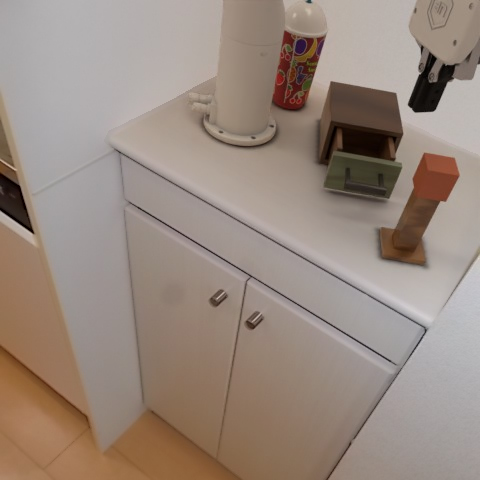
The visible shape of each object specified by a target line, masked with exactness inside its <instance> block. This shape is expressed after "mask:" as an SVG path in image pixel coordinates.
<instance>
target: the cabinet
mask: <svg viewBox="0 0 480 480" xmlns="http://www.w3.org/2000/svg"><path fill="white" fill-rule="evenodd" d="M325 97H326V98H325V101H324V105H323V108H322V113H321V117H320V120H319V144H318V145H319V146H318V148H319V149H318V152H319V154H318V163H319V164H324V165H329V143H330V140H331V136H332V133H333V129H334V126H338V127H344V128H349V129H355V130H361V131H366V132H372V133H377V134H383V135H388V136H393V142H394V149H395V155H396V154H397V151H398V149H399V146H400V144H401V141H402V139H403V137H404V127H403V122H402V116H401V111H400V105H399V100H398V94H397V92H393V91H388V90H382V89H377V88H372V87H366V86H360V85H355V84H350V83H345V82H344V83H343V82H338V81H332V80H331V81H330V82H329V86H328V90H327V93H326V96H325Z"/></svg>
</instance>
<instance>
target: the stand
mask: <svg viewBox="0 0 480 480" xmlns="http://www.w3.org/2000/svg"><path fill="white" fill-rule="evenodd" d="M440 203H441V201H437V200H432V199H426V198H420V197H416V196H415V191H414V187H413V188H412V190H411V192H410V195H409V197H408V199H407V201H406V204H405V205H404V208H403V210H402V212H401V214H400V217H399V219H398V221H397V223H396V225H395V228H391V227H384V226H380V229H379V238H380V239H379V240H380V250H381V251H380V252H381V257H382V259H385V260H391V261H397V262H403V263H408V264H409V263H410V264H415V265H420V266H425V264H426V262H427V260H426V254H425V249H424V244H423V243H424V242H423V236H424V234H425V232H426V230H427V228H428V227H429V224H430V222H431V220H432V218H433V217H434V215H435V213H436V211H437V209H438V208H439V206H440Z"/></svg>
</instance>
